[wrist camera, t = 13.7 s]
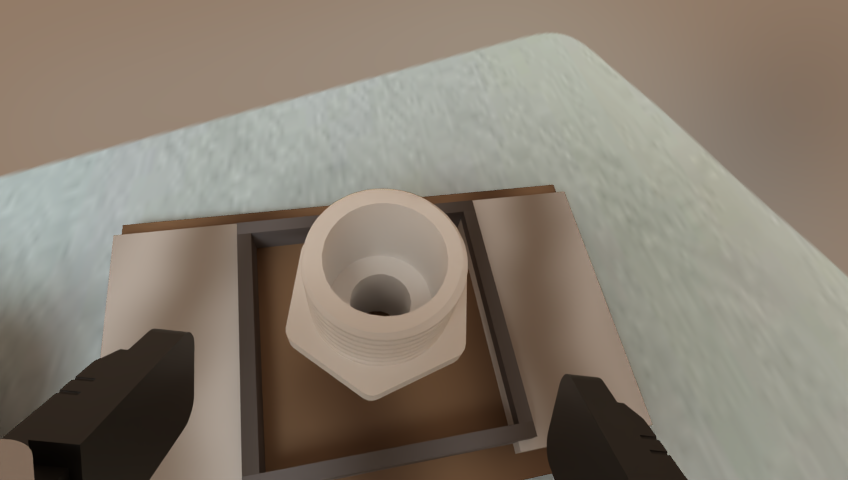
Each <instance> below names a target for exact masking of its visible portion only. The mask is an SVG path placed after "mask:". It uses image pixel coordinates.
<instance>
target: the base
mask: <svg viewBox="0 0 848 480" xmlns="http://www.w3.org/2000/svg"><path fill="white" fill-rule="evenodd" d="M422 198H424V199H426V200H428V201H429V202H431V203H432V204H434V205H436V206H437V207H438V208H440V209H441V210H442V211H443V212H444V213H445V214H446V215H447V216H448V217H449V218H450V219H451V221H452V222H453V223H454V224H455V226H456V227H457V229H458V231H459V233H460V235H461V237H462V239H463V241H464V244H465V247H466V251H467V258H468V273H467V303H466V346H465V349H464V351H463V353H462V354H461V356H460V357H459V359H458V360H457V361H455V362H454V363H452V364H450V365H448V366H446V367H444V368H441V369H439V370H437V371H435V372H433V373H431V374H429V375H427V376H425V377H423V378H421V379H419V380H417V381H415V382H413V383H411V384H408V385H406V386H404V387H402V388H400V389H398V390H396V391H394V392H392V393H390V394H388V395H386V396H384V397H382V398H380V399H377V400H374V401H369V400H366V399H364V398H362V397H361V396H359V395H358V394H356V393H355V392H354V391H352V390H351V389H350V388H348V387H347V386H345V385H344V384H343V383H341V382H340V381H338V380H337V379H336V378H334V377H333V376H332V375H330V374H329V373H327V372H326V371H325V370H323V369H322V368H321V367H319V366H318V365H316V364H315V363H314V362H312V361H311V360H309V359H308V358H307V357H305V356H304V355H303V354H301V353H300V352H298V351H297V350H296V349H294V348H293V347H292V346H291V345H290V342H289V340H288V337H287V334H286V324H287V319H288V314H289V309H290V304H291V299H292V294H293V289H294V284H295V279H296V274H297V269H298V264H299V259H300V254H301V249H302V247H303V245H304V243H305V240H306V237H307V235H308V232H309V230H310V228H311V227H312V225H313V223H314V222H315V221H316V219H317V218H318V217H319V216H320V215H321V214H322V212H323V211H324V210H326V209H327V208H328V207H329V206H323V207H312V208H301V209H291V210H280V211H269V212H259V213H248V214H238V215H227V216H216V217H206V218H195V219H184V220H174V221H163V222H153V223H142V224H131V225H123V229H122V235H114V237H113V246H112V255H111V265H110V274H109V283H108V292H107V301H106V311H105V320H104V329H103V338H102V348H101V357H100V358H102V357H104V356H106V355H109V354H111V353H113V352H115V351H117V350H119V349H125V350H128V349H129V348H131V347H132V346H133V345H134V344H135V343H136V342H137V341H138V340H139V339H141V338H142V337H143V336H144V335H145V334H146V333H147V332H148V331H150V330H151V329H154V328H156V329H165V330H174V331H183V332H190V333H192V335H193V337H194V344H195V351H194V403H193V408H192V412H191V415H190V418H189V421H188V423H187V425H186V427H185V428H184V430H183V431H182V433H181V434H180V436H179V437H178V439H177V440H176V442H175V443H174V445H173V446H172V448H171V449H170V451H169V452H168V454H167V455H166V457H165V458H164V459H163V461H162V462H161V464H160V465H159V467H158V468H157V470H156V471H155V473H154V474H153V476H152V477H151V479H150V480H524V479H529V478H533V477H538V476H543V475H547V474H552V471H551V468H550V466H549V462H548V457H547V435H548V430H549V426H550V422H551V417H552V413H553V409H554V405H555V401H556V397H557V392H558V388H559V384H560V381H561V379H562V377H563V376H564V375H565V374H572V375H582V376H591V377H599V378H601V379H602V380H603V382H604V383H605V385H606V386H607V387H608V389H609V390H610V392H611V393H612V395H613V396H614V398H615V399H616V401H617V402H619V403H624V404H626V405H627V406H628V407H629V408H631V409H632V410H633V411H634V412H636V413H637V414H638V415H639V416H641V417H642V418H643V419H644V420H645V421H646V423H647V424H648V426H650V425H653V424H652V422H651V419H650V416H649V414H648V411H647V409H646V406H645V403H644V401H643V398H642V395H641V393H640V390H639V387H638V385H637V382H636V380H635V377H634V374H633V372H632V369H631V366H630V364H629V361H628V358H627V356H626V353H625V351H624V348H623V345H622V343H621V340H620V337H619V335H618V332H617V329H616V327H615V324H614V322H613V319H612V316H611V314H610V311H609V308H608V306H607V303H606V301H605V298H604V295H603V293H602V290H601V287H600V285H599V282H598V279H597V277H596V274H595V272H594V269H593V266H592V264H591V261H590V258H589V256H588V253H587V250H586V248H585V245H584V243H583V240H582V237H581V235H580V232H579V229H578V227H577V224H576V221H575V219H574V216H573V214H572V211H571V208H570V206H569V203H568V200H567V198H566V195H565V192H556V191H555V188H554V185H546V186H535V187H524V188H514V189H503V190H493V191H482V192H471V193H461V194H450V195H439V196H429V197H422ZM367 314H370V315H378V316H391V315H389V314H388V313H385V312H381V311H372V312H368V313H367Z"/></svg>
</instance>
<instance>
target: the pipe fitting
mask: <svg viewBox="0 0 848 480" xmlns="http://www.w3.org/2000/svg"><path fill="white" fill-rule="evenodd" d="M467 273H468V258H467V251H466V247H465V244H464V241H463V239H462V237H461V235H460V233H459V231H458V229H457V227H456V226H455V224H454V223H453V222H452V221H451V219H450V218H449V217H448V216H447V215H446V214H445V213H444V212H443V211H442V210H441V209H440V208H438V207H437V206H436V205H434V204H432V203H431V202H429V201H428V200H426V199H424V198H422V197H419V196H417V195H415V194H412V193H409V192H405V191H401V190H395V189H370V190H364V191H360V192H356V193H353V194H350V195H348V196H346V197H344V198H342V199H340V200H338V201H336V202H335V203H333V204H332V205H330V206H329V207H328V208H327V209H326V210H324V211H323V212H322V214H321V215H320V216H319V217H318V218H317V219H316V221H315V222H314V223H313V225H312V227H311V228H310V230H309V232H308V235H307V237H306V240H305V243H304V245H303V247H302V249H301V254H300V259H299V264H298V269H297V274H296V279H295V284H294V289H293V294H292V299H291V304H290V309H289V314H288V319H287V324H286V334H287V337H288V340H289V342H290V345H291V346H292V347H293V348H294V349H296V350H297V351H298V352H300V353H301V354H303V355H304V356H305V357H307V358H308V359H309V360H311V361H312V362H314V363H315V364H316V365H318V366H319V367H321V368H322V369H323V370H325V371H326V372H327V373H329V374H330V375H332V376H333V377H334V378H336V379H337V380H338V381H340V382H341V383H343V384H344V385H345V386H347V387H348V388H350V389H351V390H352V391H354V392H355V393H356V394H358V395H359V396H361V397H362V398H364V399H366V400H369V401H374V400H377V399H380V398H382V397H384V396H386V395H388V394H390V393H392V392H394V391H396V390H398V389H400V388H402V387H404V386H406V385H408V384H411V383H413V382H415V381H417V380H419V379H421V378H423V377H425V376H427V375H429V374H431V373H433V372H435V371H437V370H439V369H441V368H444V367H446V366H448V365H450V364H452V363H454V362H455V361H457V360H458V359H459V357H460V356H461V354H462V353H463V351H464V349H465V346H466V303H467ZM372 311H381V312H385V313H388V314H389V315H391V316H378V315H370V314H367V313H368V312H372Z"/></svg>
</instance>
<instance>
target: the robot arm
mask: <svg viewBox="0 0 848 480" xmlns="http://www.w3.org/2000/svg"><path fill="white" fill-rule="evenodd" d="M194 351H195V344H194V337H193V335H192V333H190V332H183V331H174V330H165V329H156V328H154V329H151V330H150V331H148V332H147V333H146V334H145V335H144V336H143V337H142V338H141V339H139V340H138V341H137V342H136V343H135V344H134V345H133V346H132V347H131V348H129V349H128V350H125V349H119V350H117V351H115V352H113V353H111V354H109V355H106V356H104V357H102V358H100V359H98V360H95V361H94V362H93V363H91V364H90V365H89V366H88V367H87V368H85V369H84V370H83V371H82V372H81V373H79V374H78V375H77V376H76V378H75V380H71V381H70V382H69V383H68V384H66V385H65V386H64V387H63V388H62V389H60V392H59V393H56V394H54V395H53V396H52V397H51V398H50V399H49V400H47V401H46V402H45V403H44V404H43V405H41V406H40V407H39V408H38V409H37V410H35V411H34V412H33V413H32V414H31V415H29V416H28V417H27V418H26V419H25V420H24V421H22V422H21V423H20V424H19V425H18V426H16V427H15V428H14V429H13V430H12V431H10V432H9V433H8V434H7V435H6V436H4V437H3V438H2V439H0V480H150V479H151V477H152V476H153V474H154V473H155V471H156V470H157V468H158V467H159V465H160V464H161V462H162V461H163V459H164V458H165V457H166V455H167V454H168V452H169V451H170V449H171V448H172V446H173V445H174V443H175V442H176V440H177V439H178V437H179V436H180V434H181V433H182V431H183V430H184V428H185V427H186V425H187V423H188V421H189V418H190V415H191V412H192V408H193V403H194ZM547 457H548V462H549V466H550V468H551V471H552V474H553V476H554V479H555V480H687V478H686V477H685V476H684V474H683V473H682V472H681V470H680V469H679V467H678V466H677V465H676V463H675V462H674V460H673V459H672V458H671V456H670V455H667V451H666V449H665V448H664V446H663V445H662V444H661V442H660V441H659V440H657V439H656V435H655V434H654V433H653V431H652V430H651V428H650V427H649V426H648V424H647V423H646V421H645V420H644V419H643V418H642V417H641V416H639V415H638V414H637V413H636V412H634V411H633V410H632V409H631V408H629V407H628V406H627V405H626V404H624V403H619V402H617V401H616V399H615V398H614V396H613V395H612V393H611V392H610V390H609V389H608V387H607V386H606V385H605V383H604V382H603V380H602V379H601V378H599V377H591V376H582V375H572V374H565V375H564V376H563V377H562V379H561V381H560V384H559V388H558V392H557V397H556V401H555V405H554V409H553V413H552V417H551V422H550V426H549V430H548V435H547Z"/></svg>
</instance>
